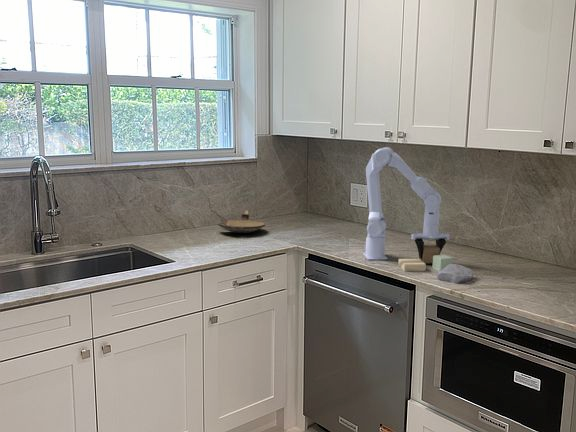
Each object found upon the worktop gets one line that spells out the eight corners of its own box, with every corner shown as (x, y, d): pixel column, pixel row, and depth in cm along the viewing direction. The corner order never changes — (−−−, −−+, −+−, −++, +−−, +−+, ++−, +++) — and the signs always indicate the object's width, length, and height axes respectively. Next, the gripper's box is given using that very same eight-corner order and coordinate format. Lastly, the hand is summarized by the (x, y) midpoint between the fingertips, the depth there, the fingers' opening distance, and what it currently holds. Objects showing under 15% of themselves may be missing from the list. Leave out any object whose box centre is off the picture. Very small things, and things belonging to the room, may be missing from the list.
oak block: (398, 266, 217) (398, 258, 216) (418, 266, 218) (419, 258, 217) (404, 272, 209) (404, 264, 209) (425, 272, 210) (425, 264, 209)
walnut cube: (418, 259, 224) (419, 244, 222) (433, 259, 224) (434, 244, 223) (423, 263, 218) (424, 248, 217) (438, 263, 218) (439, 248, 217)
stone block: (474, 282, 203) (448, 272, 209) (477, 270, 202) (451, 260, 207) (461, 291, 194) (434, 280, 200) (464, 278, 192) (437, 268, 198)
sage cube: (432, 268, 214) (433, 255, 213) (443, 267, 216) (444, 254, 215) (440, 271, 209) (441, 258, 208) (451, 270, 211) (452, 257, 210)
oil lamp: (208, 235, 264) (207, 219, 263) (239, 224, 291) (239, 209, 290) (250, 240, 255) (250, 223, 254) (278, 228, 282) (278, 213, 281)
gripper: (416, 225, 214) (413, 260, 216) (453, 225, 215) (450, 260, 217) (410, 221, 220) (408, 255, 223) (446, 221, 222) (444, 255, 224)
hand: (428, 257), depth 221 cm, fingers closed on walnut cube, 6 cm apart
